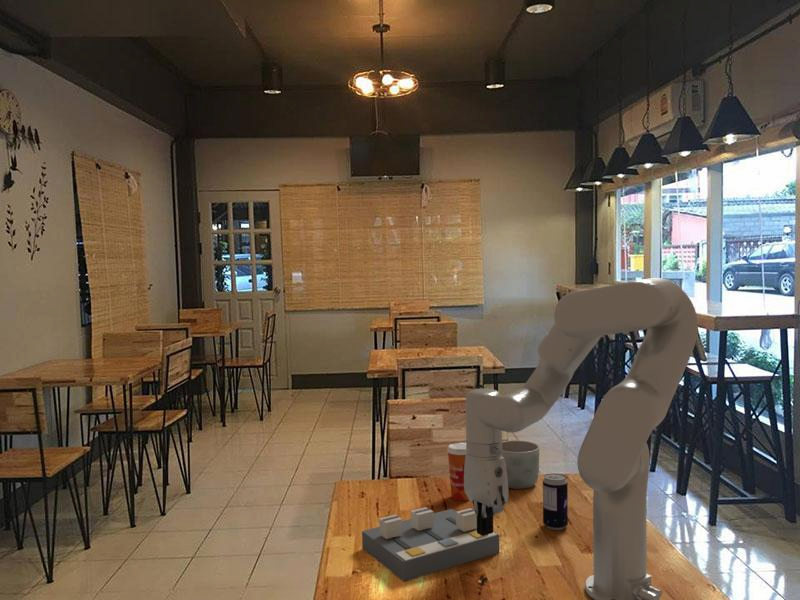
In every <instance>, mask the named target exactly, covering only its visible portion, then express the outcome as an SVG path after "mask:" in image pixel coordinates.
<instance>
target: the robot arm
mask: <svg viewBox="0 0 800 600" xmlns="http://www.w3.org/2000/svg"><path fill="white" fill-rule="evenodd" d="M696 311H697V310H696V308H695V305H694V304H693V302H692V300H691V299H690V297H689V296H688V294H687V292H685V291H684V289H682V288H681V286H679V285H678V284H676V283H675V282H673V281H671V280H669V279H666V278H661V277H650V278H644V279H643V278H642V279H637V280H631V281H626V282H620V283H615V284H612V285H611V284H609V285H605V286H600V287H595V288H589V289H588V288H586V289H579V290H573V291H570V292H567V293H566V294H565V295H563V296H562V297H560V299H559V301H558V302H557V304H556V305H555V307H554V313H553V318H554V324H553V325H552V326H551V327H550V329H549V330H548V331H547V333H546V334H545V336H544V337H543V338H542V339H541V341H540V342H539V344H538V346H537V354H538V356H539V360H538V363H537V366H536V368H535V369H534V370H533V372H532V373H531V375H530V376H529V378H528V379H527V381H525V383H524V385H523V386H522V387H521V388H520V389H518V390H516V391H511V392H510V393H507V394H501V393H500V392H499V390H495V389H493V388H475V389H471V390H469V391H468V392H467V393H466V394H465V443H466V457H465V466H464V491H465V494H466V495H467V496H468V499H469V500H468V501H470V502H471V503H472V504H473V509H474V510H475V514H476V515H477V533H478V534H480V535H481V536H484V535H488V534H491V533H493V532H494V516H495V515H496V514H500V513H503V512H504V508H503V507H502V503H505V504H508V502H509V488H508V479H507V470H506V464H505V460H504V457H502V442H503V432H505V433H511V434H512V433H518V432H521V431H522V430H524V429H527V428H529V427H530V426H532V425H533V424H536V423H538V422H539V421H540V420H542V419H543V418H544V417H545V416H546V415H547V413H549V411H551V409H552V407H554V405H555V403H557V401H558V400H559V399H560V398H561V396H562V394H563V393H564V391H565V390H566V389H567V387H568V384H570V382H571V380H572V378H573V376H574V374H575V372H576V371H577V369H578V367H580V365H581V364H582V363H583V361H584V360H585V358H587V356H588V354H590V352H591V351H592V350H593V348H594V347H595V345H597V343H598V342H599V340H601V338H602V337H603V336H608V335H609V336H610V335H616V334H617V335H618V334H621V333H622V334H623V333H630V332H638V331H644V330H646V334H645V337H644V338H643V340H642V342H641V344H640V346H639V347H638V349H637V351H636V354H635V357H634V360H633V361H632V364H631V366H630V368H629V370H628V372H627V374H626V376H625V377H624V379H623V380H622V381H621V382H620V383H618V384H616V385H614V386H613V387H612V388H611V389H608V391H607V392H606V393H605V395H604V396H603V398H602V399H601V401H600V403H599V405H598V406H597V409H596V411H595V413H594V415H593V419H592V420H591V423H590V425H589V427H588V430H587V432H586V434H585V437H584V439H583V440H582V443H581V446H580V449H579V451H578V455H577V460H576V461H577V471H578V474H579V476H580V477H581V479H582V481H583V482H584V484H586V486H588V487H589V488H590V489H592V490H593V496H592V497H593V498H592V499H593V503H592V504H593V505H592V506H593V509H592V513H593V515H592V517H593V518H592V521H593V522H592V523H593V528H592V532H593V534H592V535H593V536H592V537H593V538H592V541H593V542H592V543H593V545H592V546H593V557H592V559H593V560H592V561H593V562H592V563H593V574H591V575H590V576H588V577H587V578H586V580H585V581H584V582H585V583H584V590H585V592H586V594H587V595H588V596H589V597H591V599H593V600H660V598H661V597H662V595H663V591H662V590H661V589H659V588H657V587H655V586H653V585H652V575H651V574H649V573H647V514H648V512H647V511H648V510H647V509H648V505H647V504H648V503H647V501H648V498H647V497H648V482H649V474H650V473H649V472H650V464H651V463H650V460H651V458H650V450H649V445H648V443H647V441H648V440H649V438H650V436H651V434H652V432H653V430H654V429H655V428H656V427H658V426H659V425H660V424H661V423H662V421H663V420H664V419H665V418H666V416H667V413H668V410H669V407H670V405H671V403H672V400H673V398H674V395H675V394H676V391H677V389H678V387H679V385H680V382H681V380H682V377H683V375H684V372H685V370H686V368H687V367H688V363H689V361H690V359H691V356H692V354H693V351H694V349H695V346H696V343H697V339H698V332H699V327H698V325H699V323H698V322H699V320H698V317H697V312H696Z"/></svg>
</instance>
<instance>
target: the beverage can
mask: <svg viewBox="0 0 800 600" xmlns="http://www.w3.org/2000/svg"><path fill="white" fill-rule="evenodd" d="M568 487H569V486H568V480H567V477H566V476H565V475H564V474H562V473H561V474H560V473H546V474H545V475H544V479H543V480H542V523H543V525H545V526H546V527H547V528H548V529H549V530H553V531H561V530H564V529H565V528H566V527H567V526H568V524H569V515H568V514H569V512H568V511H569V508H568V506H569V505H568V504H569V503H568V502H569V500H568V497H569V496H568Z"/></svg>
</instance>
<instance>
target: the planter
mask: <svg viewBox="0 0 800 600" xmlns="http://www.w3.org/2000/svg"><path fill="white" fill-rule="evenodd" d="M502 457H504V460H505V464H506V470H507V479H508V489H514V490H518V489H519V490H522V489H529V488H531V487H533V486H534V485H536V484H537V482H538V478H539V473H540V472H539V471H540V470H539V469H540V445H538V444H537V443H536V442H531V441H527V440H513V439H512V440H504V441H503V440H502Z"/></svg>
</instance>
